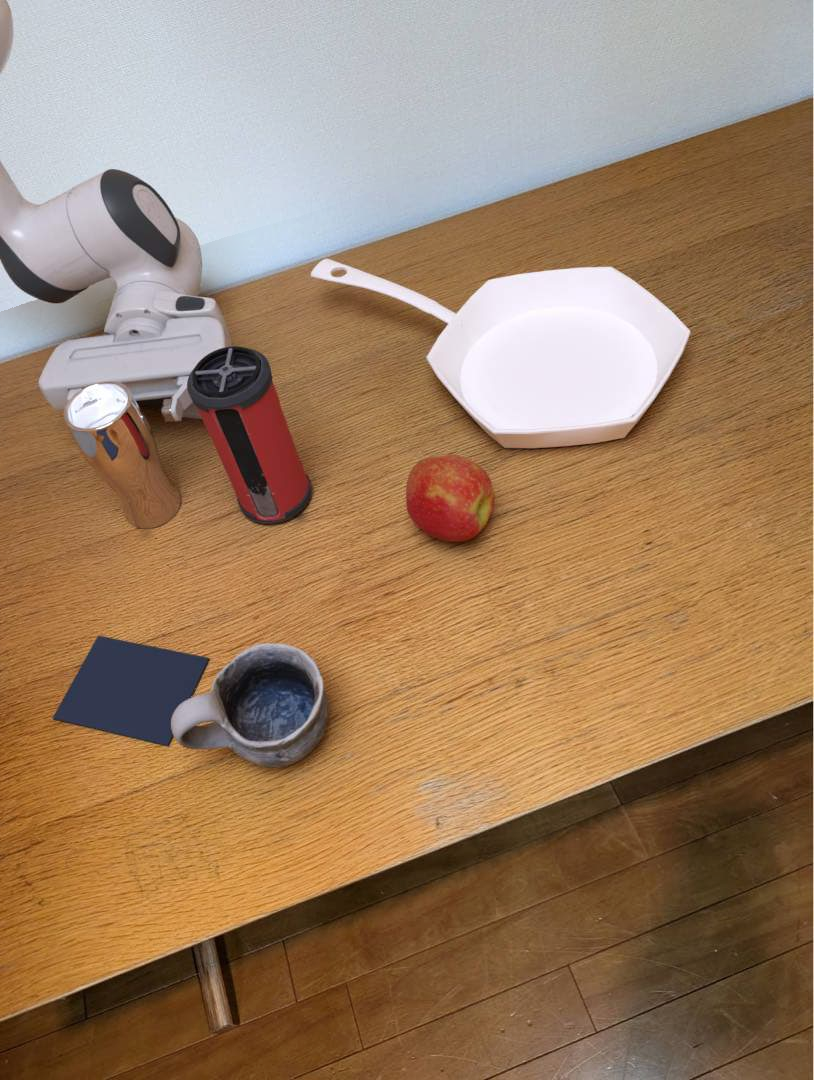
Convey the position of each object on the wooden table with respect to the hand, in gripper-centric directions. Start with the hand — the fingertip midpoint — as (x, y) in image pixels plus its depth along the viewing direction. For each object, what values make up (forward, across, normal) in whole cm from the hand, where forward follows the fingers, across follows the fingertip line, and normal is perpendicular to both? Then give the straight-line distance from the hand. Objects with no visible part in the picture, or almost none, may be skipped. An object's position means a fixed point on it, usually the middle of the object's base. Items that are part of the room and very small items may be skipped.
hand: (125, 422), depth 99 cm
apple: (+9, +32, +10) cm, 34 cm away
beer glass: (+3, 0, +10) cm, 10 cm away
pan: (-15, +36, +10) cm, 40 cm away
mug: (+31, +15, +10) cm, 36 cm away
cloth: (+25, +2, +10) cm, 27 cm away
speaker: (+4, +13, +10) cm, 17 cm away
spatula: (-12, -2, +10) cm, 16 cm away
